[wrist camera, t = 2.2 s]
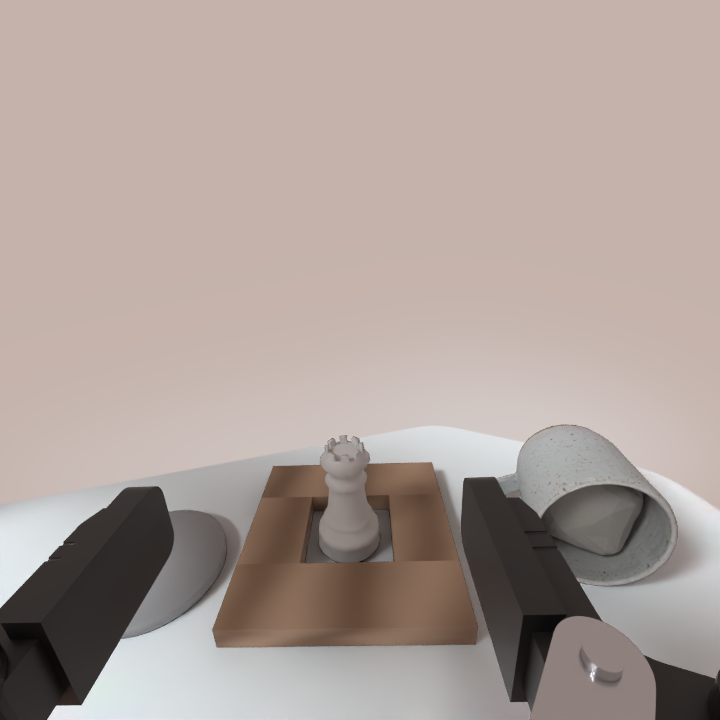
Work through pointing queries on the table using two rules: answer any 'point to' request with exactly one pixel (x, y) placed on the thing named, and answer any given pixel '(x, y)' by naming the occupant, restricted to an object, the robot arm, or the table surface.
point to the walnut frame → (348, 570)
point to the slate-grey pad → (182, 571)
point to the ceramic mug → (594, 505)
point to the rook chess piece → (347, 504)
